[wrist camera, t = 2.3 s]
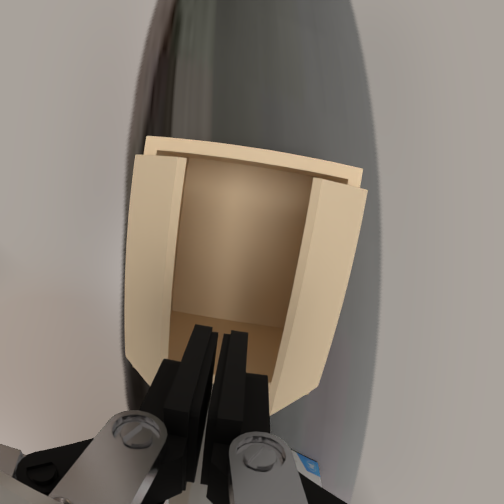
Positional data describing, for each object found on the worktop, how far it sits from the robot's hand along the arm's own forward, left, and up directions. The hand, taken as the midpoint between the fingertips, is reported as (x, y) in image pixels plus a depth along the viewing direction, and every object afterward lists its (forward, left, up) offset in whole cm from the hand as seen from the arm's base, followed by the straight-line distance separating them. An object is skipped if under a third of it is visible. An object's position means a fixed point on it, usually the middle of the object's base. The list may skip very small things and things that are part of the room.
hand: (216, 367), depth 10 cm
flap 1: (-4, +3, -8) cm, 9 cm away
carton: (0, 0, -20) cm, 20 cm away
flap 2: (+3, -4, -8) cm, 9 cm away
